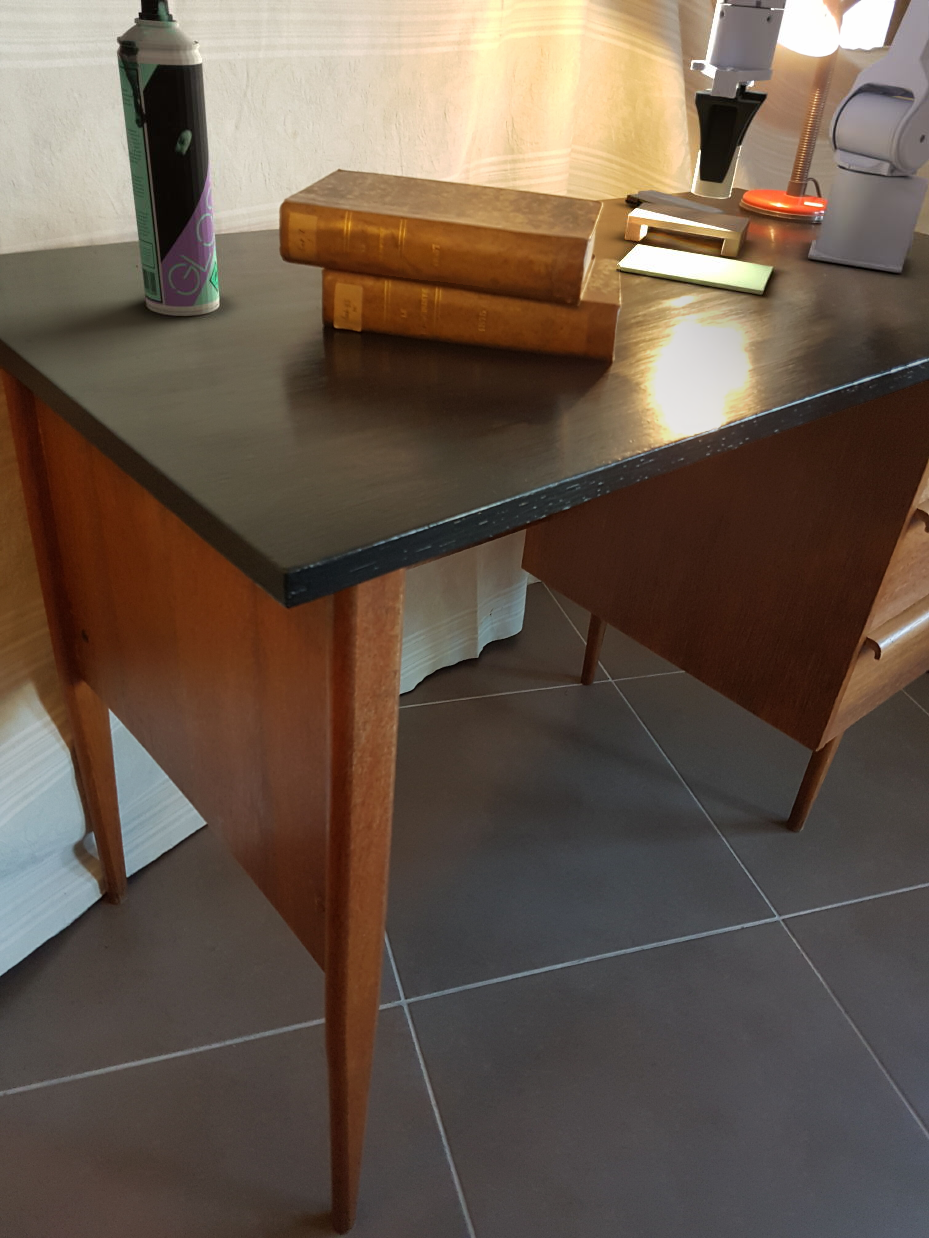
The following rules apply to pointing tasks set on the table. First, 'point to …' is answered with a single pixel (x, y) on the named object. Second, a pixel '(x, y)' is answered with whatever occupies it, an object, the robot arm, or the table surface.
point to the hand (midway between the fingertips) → (714, 178)
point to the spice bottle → (716, 188)
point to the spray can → (169, 162)
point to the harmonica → (667, 201)
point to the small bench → (689, 224)
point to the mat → (697, 269)
